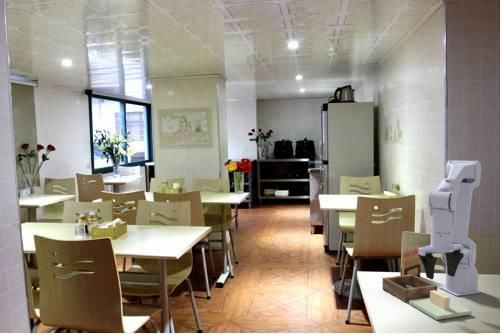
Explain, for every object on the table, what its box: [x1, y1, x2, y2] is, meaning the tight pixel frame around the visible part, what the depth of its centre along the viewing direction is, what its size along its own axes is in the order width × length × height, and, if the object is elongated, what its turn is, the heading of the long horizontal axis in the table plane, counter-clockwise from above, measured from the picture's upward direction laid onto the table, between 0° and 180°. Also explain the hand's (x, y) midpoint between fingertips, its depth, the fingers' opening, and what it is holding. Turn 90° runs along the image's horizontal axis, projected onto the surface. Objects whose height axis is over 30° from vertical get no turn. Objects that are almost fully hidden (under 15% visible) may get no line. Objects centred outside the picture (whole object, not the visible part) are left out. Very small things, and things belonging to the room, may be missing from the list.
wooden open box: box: [382, 275, 438, 303], centre depth 136 cm, size 12×12×4 cm
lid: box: [408, 290, 473, 321], centre depth 122 cm, size 12×12×5 cm
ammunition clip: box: [399, 244, 421, 278], centre depth 150 cm, size 11×2×12 cm, turn 128°
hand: (440, 276), depth 122 cm, fingers open, 7 cm apart
